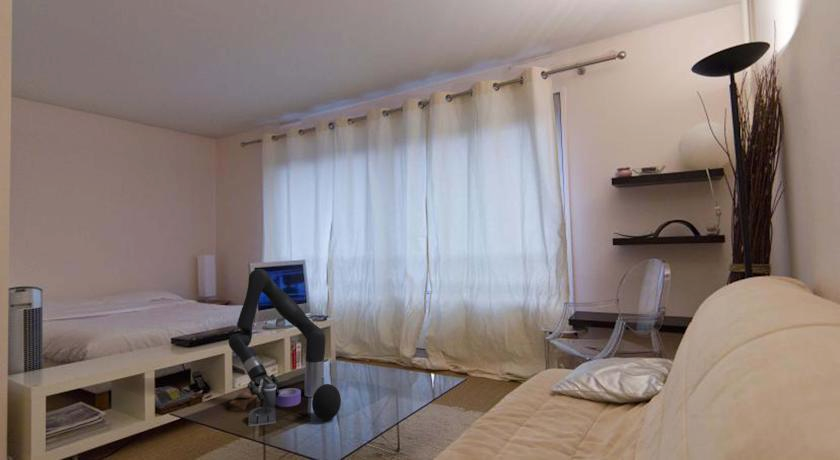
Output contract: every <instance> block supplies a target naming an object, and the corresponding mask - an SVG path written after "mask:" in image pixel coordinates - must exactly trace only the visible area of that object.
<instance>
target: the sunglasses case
mask: <svg viewBox="0 0 840 460" xmlns="http://www.w3.org/2000/svg"><path fill="white" fill-rule="evenodd" d="M257 399H259V398H258V396H257V395H252V394H251V392H250V390H247V389H245V390H244V391H242V392H241V393H239V394H238V395H237V396H236V397H234V398H233V399H231V401H229V402H228V404H227V409H228V410H246V409H247V408H248V407H249V405H251V404H252V403H253V402H255V401H256V400H257Z"/></svg>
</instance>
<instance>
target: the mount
mask: <svg viewBox="0 0 840 460" xmlns="http://www.w3.org/2000/svg"><path fill="white" fill-rule="evenodd" d="M271 424H277V418H276V407H275V408H272V407H263V406H260V407H256V408H253V409H251V410H250V411H249V414H248V427H256V426H257V427H258V426H265V425H271Z"/></svg>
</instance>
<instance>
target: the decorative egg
mask: <svg viewBox="0 0 840 460" xmlns="http://www.w3.org/2000/svg"><path fill="white" fill-rule="evenodd" d="M341 403H342V398H341V393H340V391H339V390H338V389H337V387H336V386H335V385H333V384H331V383H324V385H322V386H320V387H319V388H318V389H317V390H316V391H315V393H314V396H313V397H312V399H311V408H312V412H313V413H314V415H315V417H317V418H318V419H319V420H321V421H330V420H332V419H334V418H335V417H336V416H337V415H338V413H339V411H340V408H341Z"/></svg>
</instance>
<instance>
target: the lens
mask: <svg viewBox="0 0 840 460" xmlns="http://www.w3.org/2000/svg"><path fill="white" fill-rule="evenodd" d="M275 394H276V384H272V383H269V384H266V385H264V388H263V396H264V398H265V400H264V401H263V402H262V407H272V408H275V409H276V404H275V397H276V396H275Z"/></svg>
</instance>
